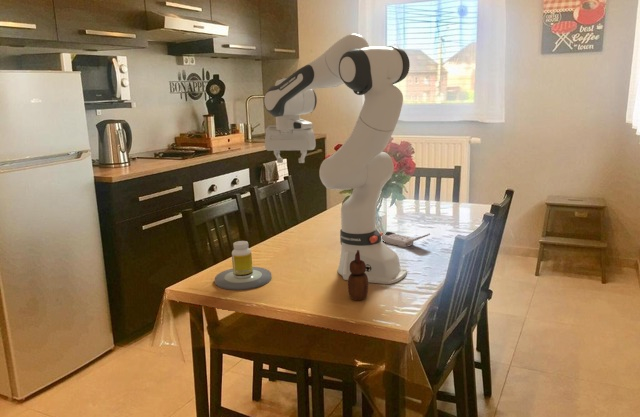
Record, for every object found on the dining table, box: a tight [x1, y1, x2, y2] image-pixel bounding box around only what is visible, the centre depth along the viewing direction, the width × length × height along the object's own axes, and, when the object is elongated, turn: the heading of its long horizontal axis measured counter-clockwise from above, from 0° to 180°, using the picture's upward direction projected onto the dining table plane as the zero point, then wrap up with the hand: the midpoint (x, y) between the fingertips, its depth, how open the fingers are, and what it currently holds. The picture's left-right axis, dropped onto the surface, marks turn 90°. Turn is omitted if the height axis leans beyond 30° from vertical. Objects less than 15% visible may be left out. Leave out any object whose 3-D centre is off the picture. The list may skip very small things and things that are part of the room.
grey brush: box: [382, 231, 431, 248], centre depth 203 cm, size 6×6×25 cm
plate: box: [214, 266, 272, 291], centre depth 171 cm, size 18×18×1 cm
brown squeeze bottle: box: [347, 250, 369, 301], centre depth 151 cm, size 7×6×15 cm
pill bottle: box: [231, 240, 253, 279], centre depth 170 cm, size 6×6×11 cm
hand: (290, 162), depth 194 cm, fingers open, 8 cm apart
